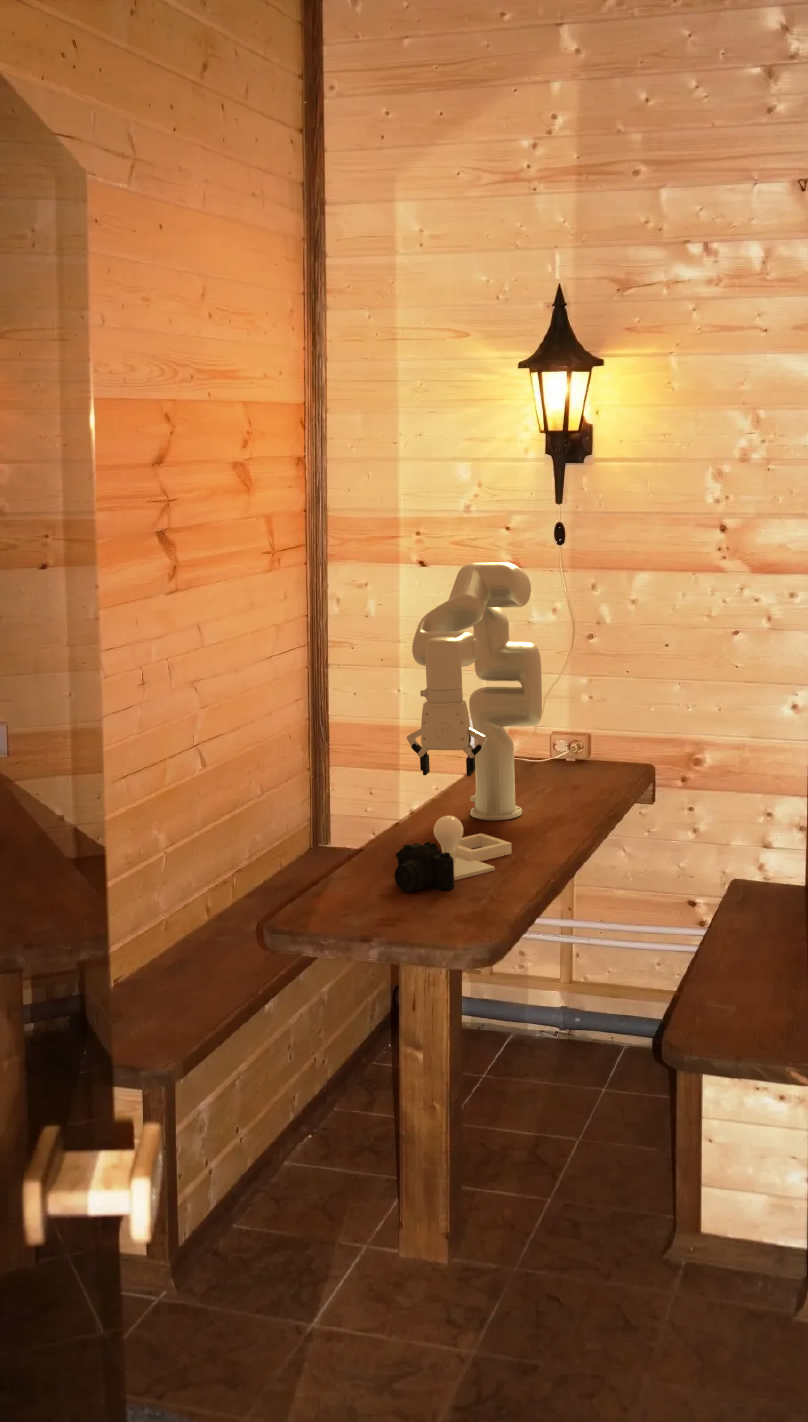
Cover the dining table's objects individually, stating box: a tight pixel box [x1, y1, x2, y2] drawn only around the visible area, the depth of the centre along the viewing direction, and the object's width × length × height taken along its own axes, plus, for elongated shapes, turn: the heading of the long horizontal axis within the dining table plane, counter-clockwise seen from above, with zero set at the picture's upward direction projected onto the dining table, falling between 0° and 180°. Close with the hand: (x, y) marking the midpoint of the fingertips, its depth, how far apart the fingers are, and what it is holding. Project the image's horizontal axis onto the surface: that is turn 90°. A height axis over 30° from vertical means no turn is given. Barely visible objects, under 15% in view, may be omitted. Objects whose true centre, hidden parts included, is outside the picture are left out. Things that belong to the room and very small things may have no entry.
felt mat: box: [454, 855, 496, 881], centre depth 315 cm, size 14×14×1 cm
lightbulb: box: [433, 815, 464, 864], centre depth 314 cm, size 6×6×11 cm
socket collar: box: [441, 832, 513, 862], centre depth 326 cm, size 11×11×2 cm
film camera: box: [394, 841, 455, 893], centre depth 303 cm, size 15×10×9 cm, turn 45°
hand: (448, 774), depth 313 cm, fingers open, 9 cm apart
